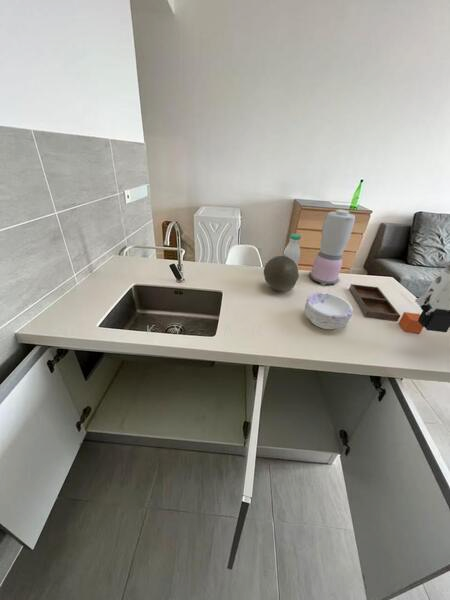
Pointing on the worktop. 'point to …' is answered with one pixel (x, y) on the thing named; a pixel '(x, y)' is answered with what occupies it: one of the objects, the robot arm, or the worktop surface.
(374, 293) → the holder
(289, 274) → the dark brown ball
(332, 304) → the paper bowls
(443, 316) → the black cube
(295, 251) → the milk bottle
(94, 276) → the worktop surface
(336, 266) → the blender
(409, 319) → the orange cube
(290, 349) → the worktop surface
